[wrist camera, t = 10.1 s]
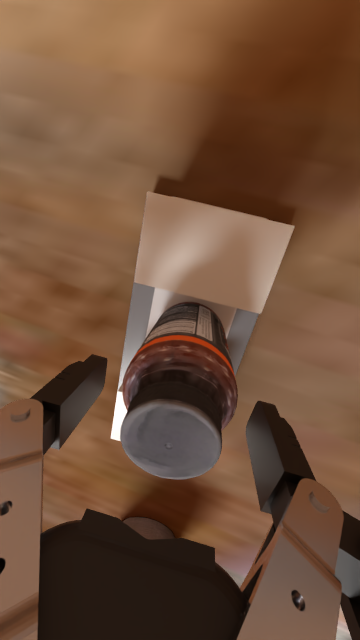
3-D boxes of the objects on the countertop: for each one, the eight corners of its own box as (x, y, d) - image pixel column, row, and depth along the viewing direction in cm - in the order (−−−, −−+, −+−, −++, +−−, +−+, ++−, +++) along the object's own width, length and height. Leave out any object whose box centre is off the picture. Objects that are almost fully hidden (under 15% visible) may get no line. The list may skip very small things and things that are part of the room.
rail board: (215, 416, 24) (218, 474, 18) (121, 390, 24) (92, 439, 18) (285, 227, 17) (329, 217, 11) (152, 195, 17) (122, 168, 11)
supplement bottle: (223, 363, 19) (244, 508, 9) (159, 360, 20) (105, 492, 9) (225, 298, 17) (256, 385, 7) (154, 299, 18) (80, 377, 7)
